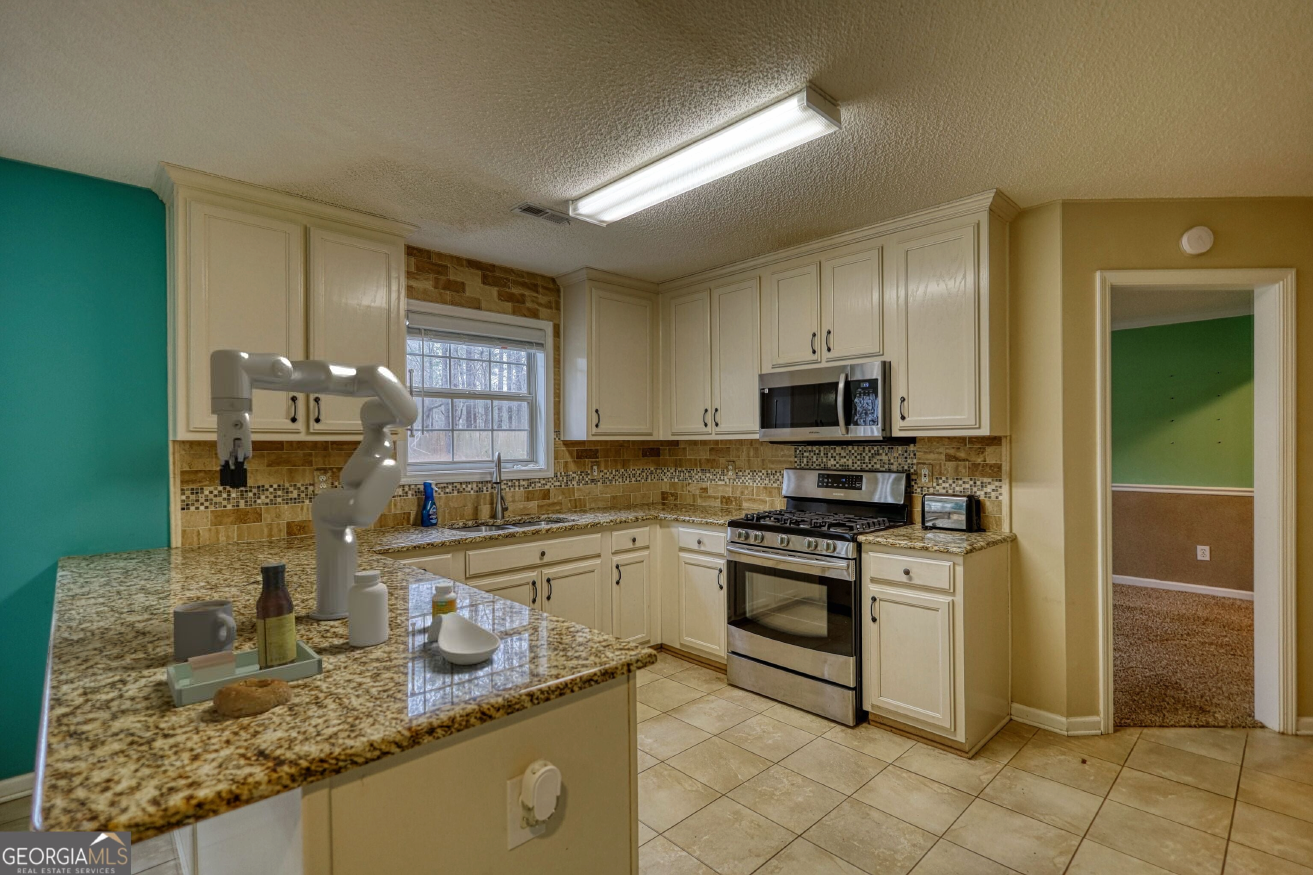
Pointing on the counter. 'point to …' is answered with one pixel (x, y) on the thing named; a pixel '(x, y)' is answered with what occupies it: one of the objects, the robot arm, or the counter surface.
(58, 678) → the counter surface
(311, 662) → the pale green tray
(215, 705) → the bagel
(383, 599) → the pill bottle
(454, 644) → the spoon rest
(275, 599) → the sauce bottle
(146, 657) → the counter surface
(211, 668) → the pink lidded box
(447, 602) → the supplement bottle
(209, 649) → the coffee mug
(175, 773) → the counter surface
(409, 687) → the counter surface
